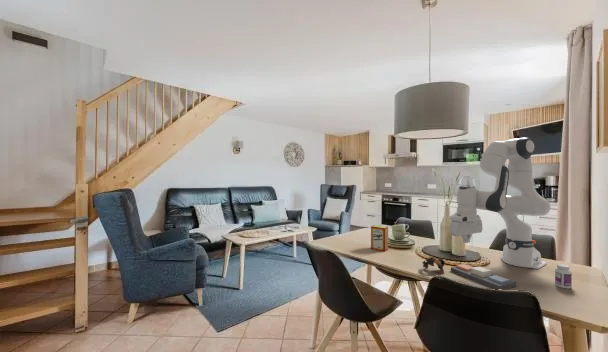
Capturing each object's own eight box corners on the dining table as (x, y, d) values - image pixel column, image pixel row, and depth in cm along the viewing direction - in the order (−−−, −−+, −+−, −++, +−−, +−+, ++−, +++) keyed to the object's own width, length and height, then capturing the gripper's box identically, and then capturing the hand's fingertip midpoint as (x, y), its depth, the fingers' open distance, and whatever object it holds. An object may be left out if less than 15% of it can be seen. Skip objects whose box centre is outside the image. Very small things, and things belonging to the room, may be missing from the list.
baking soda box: (388, 249, 175) (388, 226, 175) (384, 251, 170) (384, 227, 169) (374, 246, 181) (374, 224, 180) (371, 249, 175) (371, 225, 175)
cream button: (479, 272, 131) (479, 266, 131) (491, 276, 125) (491, 270, 125) (471, 273, 129) (471, 267, 129) (483, 278, 123) (483, 272, 123)
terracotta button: (464, 269, 138) (464, 264, 138) (475, 273, 133) (475, 267, 133) (456, 271, 136) (456, 265, 136) (467, 275, 131) (467, 269, 131)
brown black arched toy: (438, 277, 129) (429, 261, 132) (425, 279, 137) (417, 264, 140) (453, 267, 134) (444, 252, 137) (439, 269, 142) (431, 255, 145)
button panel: (466, 268, 140) (466, 264, 140) (516, 286, 118) (516, 281, 118) (450, 271, 136) (450, 267, 136) (499, 290, 114) (499, 286, 114)
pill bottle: (570, 286, 118) (571, 265, 118) (572, 290, 114) (572, 268, 114) (554, 282, 122) (554, 262, 122) (555, 286, 118) (555, 265, 118)
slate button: (496, 281, 123) (496, 275, 123) (509, 286, 118) (509, 279, 118) (488, 283, 121) (488, 276, 121) (501, 288, 116) (501, 281, 116)
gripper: (474, 213, 141) (474, 238, 141) (447, 216, 133) (447, 243, 134) (486, 215, 135) (485, 241, 135) (458, 219, 127) (458, 246, 128)
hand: (466, 242), depth 135 cm, fingers closed
